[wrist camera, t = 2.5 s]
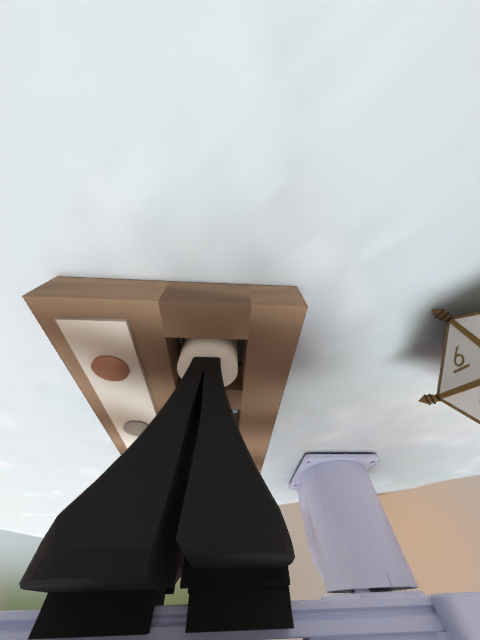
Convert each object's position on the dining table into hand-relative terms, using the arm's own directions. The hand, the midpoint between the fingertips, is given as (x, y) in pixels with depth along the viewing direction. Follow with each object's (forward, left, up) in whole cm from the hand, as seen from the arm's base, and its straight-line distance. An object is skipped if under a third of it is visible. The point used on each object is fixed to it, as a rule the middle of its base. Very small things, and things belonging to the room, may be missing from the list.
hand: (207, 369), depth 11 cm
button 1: (0, 0, -2) cm, 2 cm away
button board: (-6, +1, -2) cm, 7 cm away
